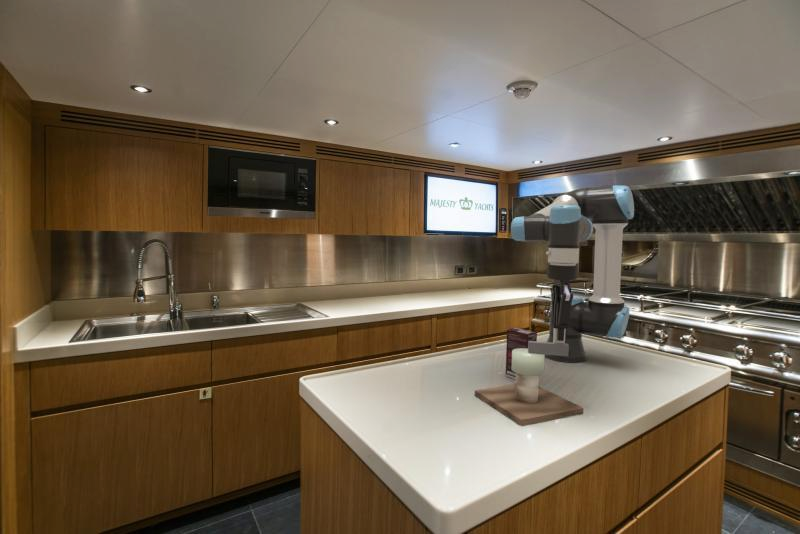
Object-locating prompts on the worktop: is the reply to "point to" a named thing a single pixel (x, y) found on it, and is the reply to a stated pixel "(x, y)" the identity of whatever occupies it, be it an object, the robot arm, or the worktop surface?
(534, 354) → the white cylinder
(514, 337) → the supplement box
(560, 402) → the wooden board with post
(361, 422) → the worktop surface
